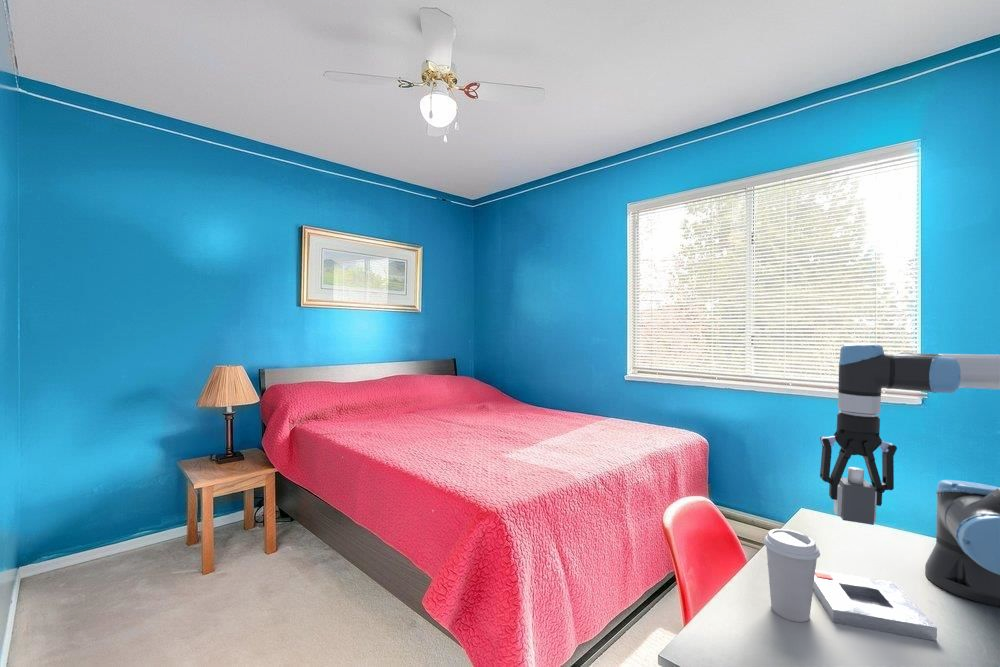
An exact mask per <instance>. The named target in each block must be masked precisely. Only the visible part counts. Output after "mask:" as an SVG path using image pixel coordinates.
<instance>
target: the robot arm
mask: <svg viewBox="0 0 1000 667" xmlns="http://www.w3.org/2000/svg"><path fill="white" fill-rule="evenodd" d="M960 388H961V389H962V388H963V389H982V390H983V389H985V390H1000V354H988V353H987V354H979V353H978V354H976V353H975V354H973V353H972V354H971V353H970V354H969V353H913V352H900V353H897V354H892V353H891V354H889V353H885V351H884V347H883V346H882V345H880V344H865V343H844V345H842V346H841V348H840V352H839V363H838V388H837V389H838V390H837V391H838V392H837V393H838V395H837V396H838V397H837V409H838V412H837V415H836V431H835V432H834V434H833V435H831V436H823V435H822V436H820V437H819V439H820V442H821V443H820V444H821V447H822V448H821V460H820V468H819V469H820V470H819V471H820V472H819V478H820V479H821V480H822V481H823V482H824V483H827V484H829V485H828V486H829V488H828V495H829V498H830V499H831V500H833V513H834V514H835V515H836V516H838V517H840V516H841V510H842V487H841V486H840V485H839V482H840V480H841V477H842V476H843V474H844V473H845V471H846V470H845V469H846V467H847V465H848V462H849V460H850V459H851V457H852V456H861V457H863V460H864V462H865V466H866V469H867V474H868V476H869V480H870V482H871V483H870V484H871V485H872V486H873V487H875V511H874V523H876V522H877V507H881V506H882V505H883V504H882V503H883V493H885V491H893V490H894V488H895V485H894V483H895V482H894V480H895V479H894V478H895V477H894V475H895V474H894V472H895V470H894V466H895V465H894V462H895V461H894V460H895V459H894V456H895V454H896V452H897V449H898V448H897V445H895V444H893V443H891V442H886V441H883V440H882V438H881V436H880V431H881V417H879V415H880V414H881V409H882V408H881V406H882V405H881V403H882V402H881V401H882V399H881V398H882V389H887V390H891V389H893V390H901V391H903V390H904V391H914V392H927V393H933V394H939V393H941V394H953V393H955V392H957V391H958V389H960ZM835 442H837V445H839V447H840V449H839V452H838V456H837V459H836V461H835V464H834V466H833V468H832V470H831V466H832V464H831V461H832V452H833V450H832V447H833V446H834V445H835V444H834V443H835ZM879 447H880V450H881V451H882V453H881V464H882V466H881V467H882V468H881V475H882V476H881V477H880V473H879V471H878V468H877V464H876V458H875V455H874V452H875V451H876V450H877V449H878V448H879ZM830 472H831V474H830ZM842 478H843V477H842ZM881 478H882V480H881ZM935 494H936V528H935V529H936V532H935V533H936V537H935V538H936V540H935V541H936V542H935V545H934V546H933V549H932V551H931V552H930V555H929V556H928V558H927V561H926V562H925V567H924V575H925V577H926V578H927V579H928V581H930V583H932V584H934V585H936V586H937V587H939V588H940V589H943V590H945V591H947V592H949V593H951V594H953V595H955V596H959V597H961V598H965V599H967V600H971V601H973V602H976V603H980V604H985V605H990V606H994V607H995V606H996V607H1000V487H998V486H995V485H990V484H984V483H977V482H972V481H963V480H956V479H955V480H954V479H941V480H940V481H939V482H938V483H937V488H936V491H935Z"/></svg>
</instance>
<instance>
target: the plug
mask: <svg viewBox="0 0 1000 667" xmlns="http://www.w3.org/2000/svg"><path fill="white" fill-rule="evenodd" d="M864 477H865V469H862V468H860V467H855V466H849V467H847V477H841V480H840V482H839V485H840V486H841V487H842V510H841V516H839V517H840V518H841V520H842V521H847V522H853V523H858V524H865V525H870V526H874V524H875V522H874V511H875V487H873V486H872V483H870V482H869V481H868V480H866V479H865V478H864Z"/></svg>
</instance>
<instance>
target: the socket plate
mask: <svg viewBox="0 0 1000 667" xmlns="http://www.w3.org/2000/svg"><path fill="white" fill-rule="evenodd" d="M813 592H814V594H815V595H816V597H817V599H818V600H819V602H820V603H821V605H822V607H823V609H824V611H825V612H826V613H827V616H829V618H830V620H831V621H832V623H834V624H835V623H836V624H841V625H846V626H851V627H855V628H856V627H857V628H863V629H867V630H872V631H873V630H874V631H879V632H883V633H888V634H889V633H890V634H894V635H895V634H896V635H901V636H906V637H912V638H917V639H922V640H927V641H933V642H938V636H937V635H938V627H937V626H936V625H935V624H934V623H933V622H932V621H931V620H930V619H929V618H928V617H927V616H926V614H924V613H923V611H921V609H919V607H918V606H916V605H915V603H914V602H913V601H912V600H911V599H910V598H909V597H908V596H907V594H905V593H904V592H903V591H902V590H901V589H900V587H899V586H897V584H896V583H895V582H893V581H890V580H884V579H883V580H882V579H876V578H869V577H864V576H857V575H850V574H844V573H836V572H831V571H824V570H817V569H815V577H814V585H813Z"/></svg>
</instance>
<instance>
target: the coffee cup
mask: <svg viewBox="0 0 1000 667" xmlns="http://www.w3.org/2000/svg"><path fill="white" fill-rule="evenodd" d="M763 545H764V546H765V547H766V559H767V568H768V569H767V571H768V579H769V580H768V581H769V583H768V584H769V593H770V594H769V596H770V607H771V610H772V611H773V613H775V614H776V615H777V616H779V617H781V618H783V619H785V620H789V621H791V622H796V623H803V622H808V621H809V620H810V618H811V610H812V609H811V608H812V601H813V594H814V593H813V592H814V591H813V585H814V577H815V570H817V569H816V567H817V560H818V559H819V558H820V557H821V553H820V549H819V547H818V545H817V544H816V541H815V540H814V538H812V537H810V536H808V535H807V534H805V533H802V532H799V531H796V530H792V529H786V528H774V529H770V530H768V532H767V534H766V535H765V537H764V540H763Z"/></svg>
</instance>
